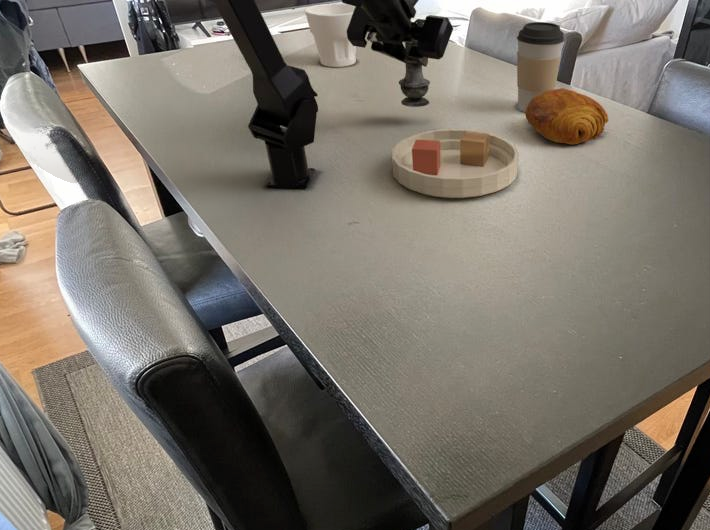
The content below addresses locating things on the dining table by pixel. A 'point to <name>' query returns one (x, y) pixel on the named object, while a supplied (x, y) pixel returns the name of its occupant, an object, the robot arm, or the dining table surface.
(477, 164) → the block
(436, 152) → the block
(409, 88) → the grey turned piece
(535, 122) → the croissant
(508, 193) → the dining table surface
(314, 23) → the cup
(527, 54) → the coffee cup
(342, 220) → the dining table surface
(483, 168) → the round wooden tray
